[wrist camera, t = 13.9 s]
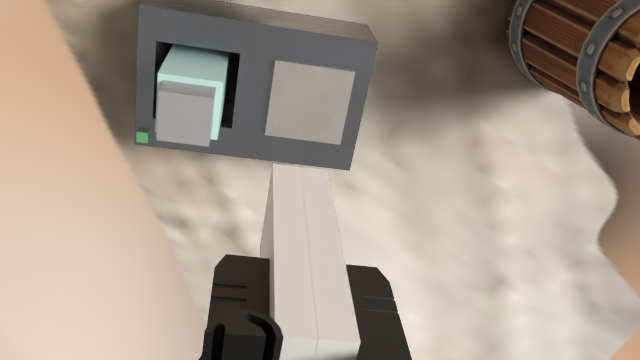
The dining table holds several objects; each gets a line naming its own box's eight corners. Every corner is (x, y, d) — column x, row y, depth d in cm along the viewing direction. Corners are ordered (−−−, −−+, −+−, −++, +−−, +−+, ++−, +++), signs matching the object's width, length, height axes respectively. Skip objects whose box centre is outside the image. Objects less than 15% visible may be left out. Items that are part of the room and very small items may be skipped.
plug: (177, 35, 44) (152, 83, 34) (231, 43, 44) (220, 92, 35) (174, 86, 46) (149, 145, 36) (226, 93, 46) (214, 153, 37)
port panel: (152, -10, 42) (137, 5, 37) (367, 24, 44) (379, 43, 40) (147, 118, 47) (133, 146, 42) (342, 143, 49) (350, 172, 44)
